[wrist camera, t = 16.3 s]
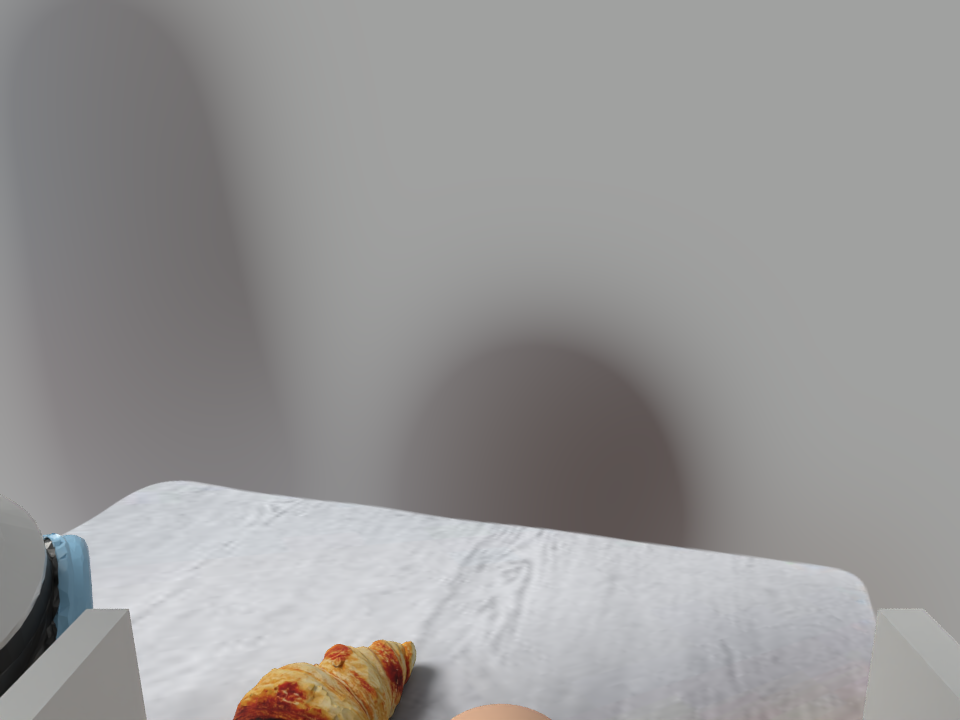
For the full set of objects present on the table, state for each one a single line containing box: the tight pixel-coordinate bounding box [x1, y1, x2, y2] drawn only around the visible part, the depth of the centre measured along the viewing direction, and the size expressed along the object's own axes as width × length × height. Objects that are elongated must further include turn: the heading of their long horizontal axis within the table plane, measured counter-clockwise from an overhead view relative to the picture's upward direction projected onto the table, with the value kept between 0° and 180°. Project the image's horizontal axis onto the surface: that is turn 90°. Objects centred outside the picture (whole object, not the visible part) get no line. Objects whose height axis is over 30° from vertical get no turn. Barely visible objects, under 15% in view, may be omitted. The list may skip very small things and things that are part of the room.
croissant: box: [233, 640, 416, 720], centre depth 49 cm, size 21×10×8 cm, turn 147°
